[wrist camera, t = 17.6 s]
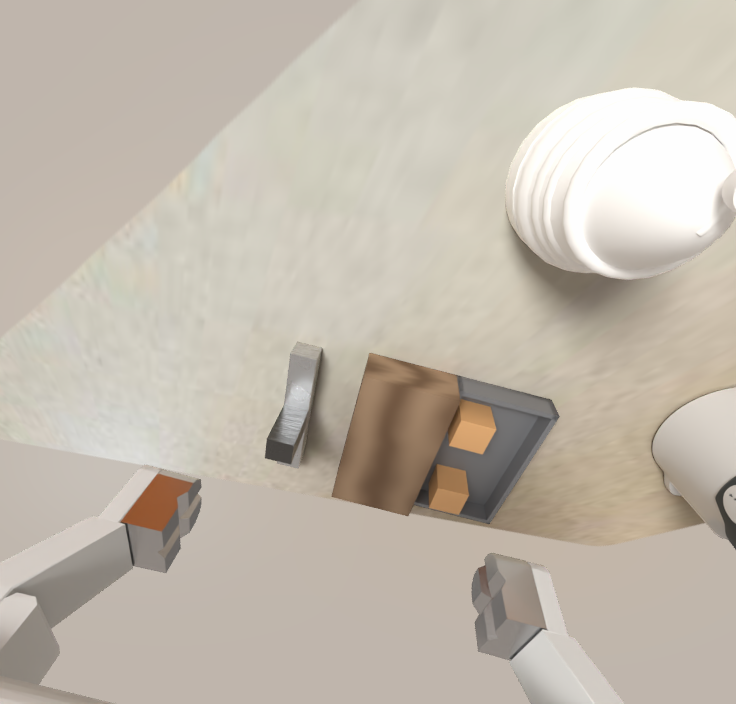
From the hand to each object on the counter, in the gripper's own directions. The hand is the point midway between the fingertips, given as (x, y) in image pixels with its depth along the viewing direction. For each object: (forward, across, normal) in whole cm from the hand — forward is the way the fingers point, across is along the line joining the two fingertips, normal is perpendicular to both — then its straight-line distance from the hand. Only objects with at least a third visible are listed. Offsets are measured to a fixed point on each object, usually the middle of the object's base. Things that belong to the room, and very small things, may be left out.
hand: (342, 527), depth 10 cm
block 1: (+28, -13, +29) cm, 42 cm away
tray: (+31, -16, +23) cm, 42 cm away
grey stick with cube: (+31, +7, +23) cm, 40 cm away
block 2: (+28, -12, +18) cm, 35 cm away
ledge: (+31, -5, +23) cm, 39 cm away
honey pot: (+31, -14, -9) cm, 36 cm away
